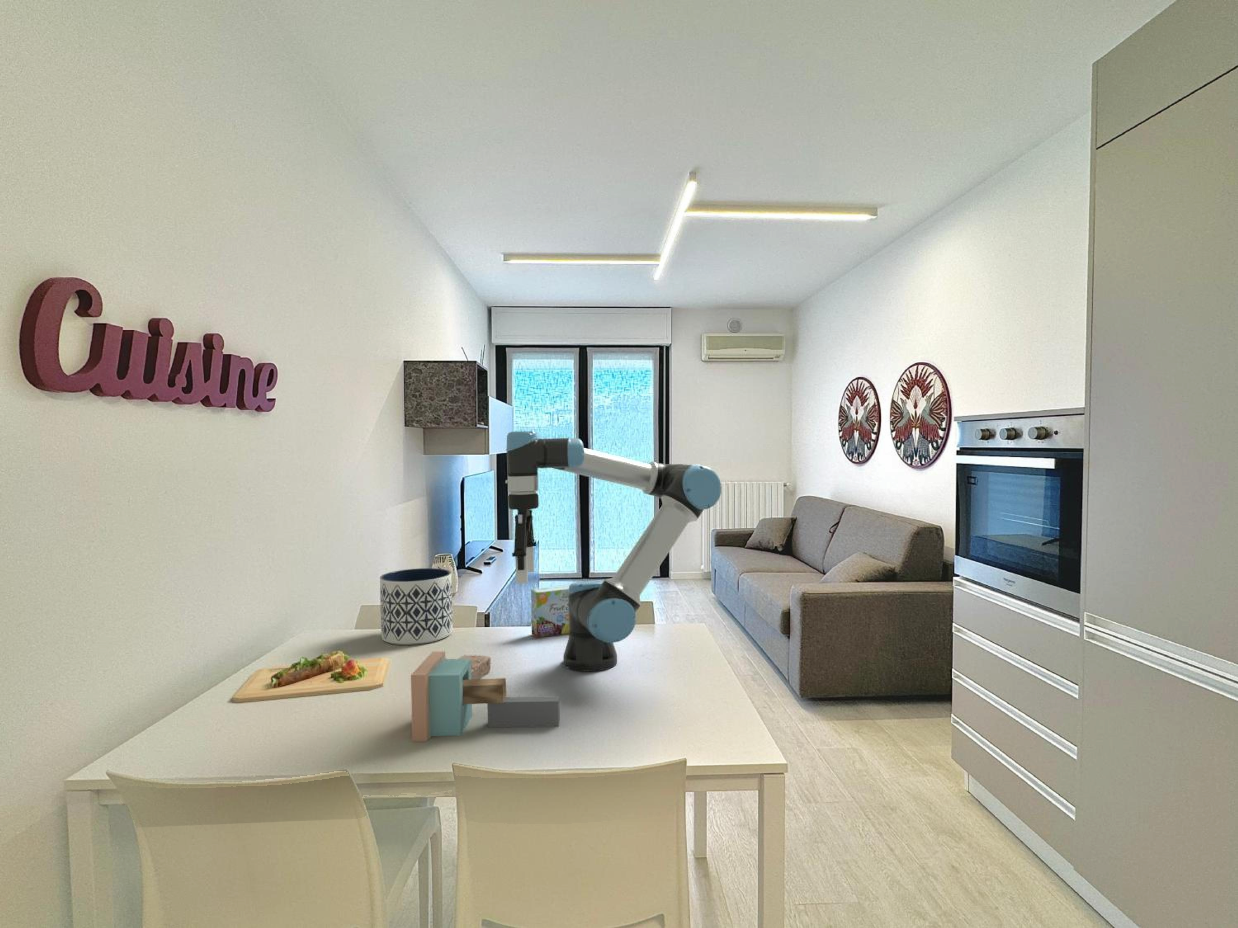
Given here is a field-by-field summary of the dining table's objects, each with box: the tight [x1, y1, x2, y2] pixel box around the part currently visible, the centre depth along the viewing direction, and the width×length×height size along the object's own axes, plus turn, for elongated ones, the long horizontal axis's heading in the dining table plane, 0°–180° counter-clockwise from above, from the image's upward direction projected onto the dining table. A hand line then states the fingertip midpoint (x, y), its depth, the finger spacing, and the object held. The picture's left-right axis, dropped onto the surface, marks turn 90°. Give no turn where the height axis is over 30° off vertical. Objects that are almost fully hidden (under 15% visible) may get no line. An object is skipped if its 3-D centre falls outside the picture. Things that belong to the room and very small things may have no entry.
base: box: [410, 650, 446, 742], centre depth 148 cm, size 3×16×14 cm, turn 0°
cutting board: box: [232, 650, 391, 703], centre depth 179 cm, size 35×23×8 cm
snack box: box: [530, 584, 571, 639], centre depth 221 cm, size 21×6×15 cm, turn 117°
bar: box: [463, 677, 507, 705], centre depth 148 cm, size 13×4×4 cm, turn 90°
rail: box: [486, 695, 561, 728], centre depth 148 cm, size 16×3×6 cm, turn 90°
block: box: [429, 658, 473, 737], centre depth 148 cm, size 6×11×13 cm, turn 0°
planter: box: [379, 567, 454, 646], centre depth 219 cm, size 22×22×20 cm
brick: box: [457, 654, 492, 679], centre depth 177 cm, size 17×8×5 cm, turn 163°
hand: (525, 577), depth 168 cm, fingers open, 13 cm apart
